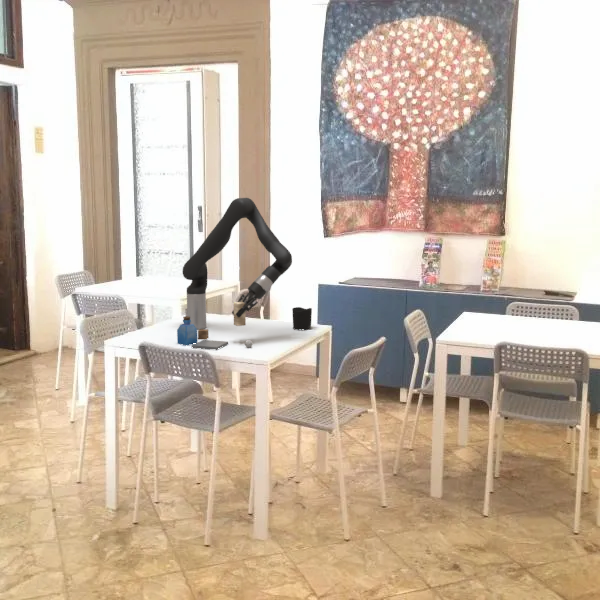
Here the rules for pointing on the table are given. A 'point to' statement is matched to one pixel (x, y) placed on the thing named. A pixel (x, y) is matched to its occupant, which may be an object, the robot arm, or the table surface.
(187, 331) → the perfume bottle
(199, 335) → the walnut cube
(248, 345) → the grey ball
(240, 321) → the mottled tan cylinder
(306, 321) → the pen holder
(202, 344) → the trivet
